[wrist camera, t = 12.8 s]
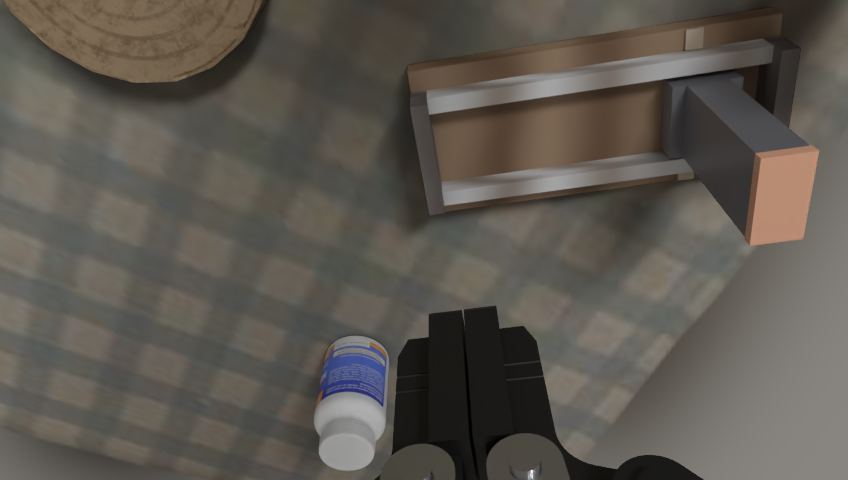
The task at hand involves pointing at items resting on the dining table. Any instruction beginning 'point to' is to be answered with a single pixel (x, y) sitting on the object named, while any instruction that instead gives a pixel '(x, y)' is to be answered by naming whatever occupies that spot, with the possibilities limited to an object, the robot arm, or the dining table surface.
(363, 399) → the pill bottle
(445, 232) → the dining table surface
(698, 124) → the fader tab
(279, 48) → the dining table surface
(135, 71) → the brown round disc
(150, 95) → the dining table surface
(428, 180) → the board
